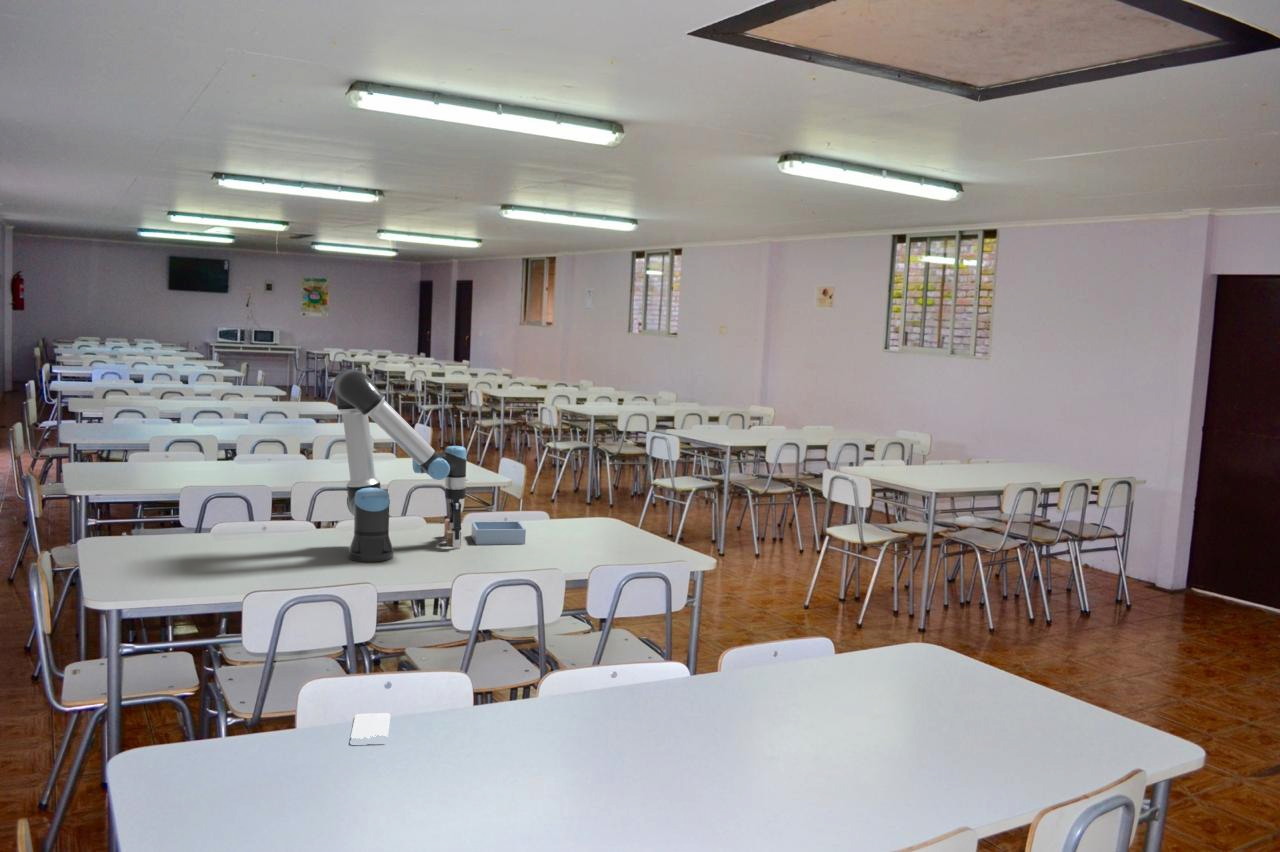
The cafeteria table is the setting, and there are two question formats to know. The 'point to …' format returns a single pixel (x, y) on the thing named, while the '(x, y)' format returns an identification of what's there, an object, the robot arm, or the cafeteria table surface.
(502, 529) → the tote
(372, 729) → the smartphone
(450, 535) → the cube
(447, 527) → the cylinder
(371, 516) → the robot arm
